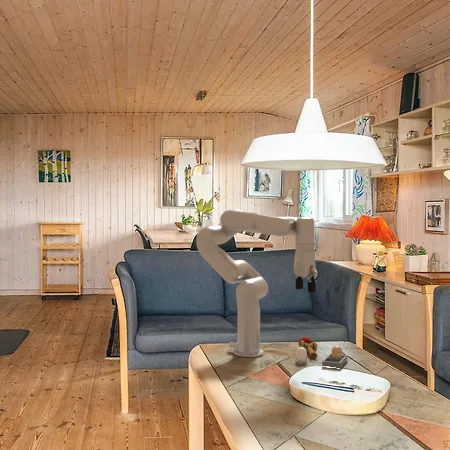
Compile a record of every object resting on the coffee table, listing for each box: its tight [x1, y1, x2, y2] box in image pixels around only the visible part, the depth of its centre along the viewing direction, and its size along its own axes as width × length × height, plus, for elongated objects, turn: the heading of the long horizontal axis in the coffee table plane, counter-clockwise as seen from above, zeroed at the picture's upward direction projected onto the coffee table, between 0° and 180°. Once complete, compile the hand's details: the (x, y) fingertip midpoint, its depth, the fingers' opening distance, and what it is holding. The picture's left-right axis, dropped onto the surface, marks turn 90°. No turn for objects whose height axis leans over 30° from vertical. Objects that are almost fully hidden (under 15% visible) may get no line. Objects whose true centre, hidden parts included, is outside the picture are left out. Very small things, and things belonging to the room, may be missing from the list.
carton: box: [321, 345, 348, 369], centre depth 242 cm, size 7×13×7 cm, turn 156°
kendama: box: [298, 336, 318, 360], centre depth 258 cm, size 8×6×18 cm
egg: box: [295, 346, 308, 365], centre depth 244 cm, size 4×4×6 cm
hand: (305, 290), depth 244 cm, fingers open, 9 cm apart
